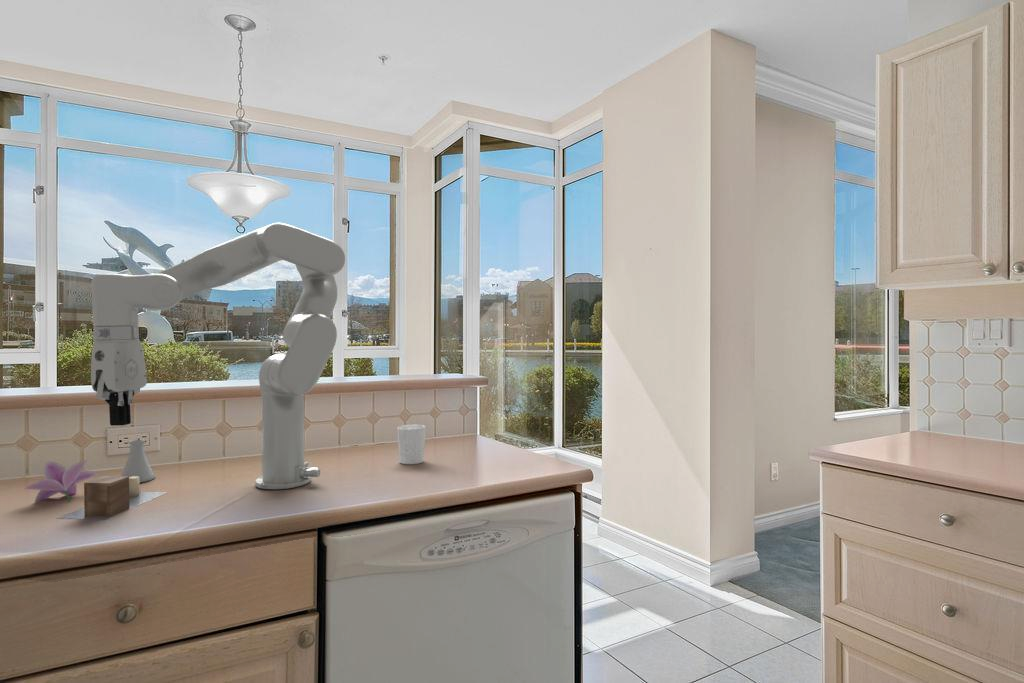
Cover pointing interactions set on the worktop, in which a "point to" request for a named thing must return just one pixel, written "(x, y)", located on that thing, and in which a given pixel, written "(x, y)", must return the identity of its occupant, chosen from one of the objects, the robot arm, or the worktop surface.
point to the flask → (138, 462)
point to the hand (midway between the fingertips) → (120, 424)
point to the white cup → (411, 443)
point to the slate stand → (134, 500)
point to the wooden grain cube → (106, 496)
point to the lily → (60, 480)
